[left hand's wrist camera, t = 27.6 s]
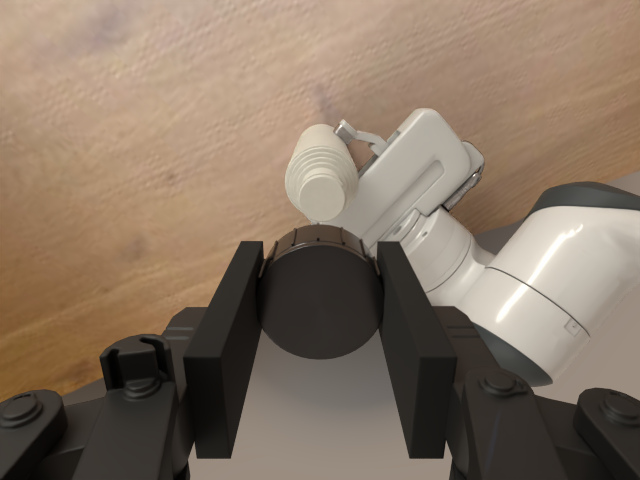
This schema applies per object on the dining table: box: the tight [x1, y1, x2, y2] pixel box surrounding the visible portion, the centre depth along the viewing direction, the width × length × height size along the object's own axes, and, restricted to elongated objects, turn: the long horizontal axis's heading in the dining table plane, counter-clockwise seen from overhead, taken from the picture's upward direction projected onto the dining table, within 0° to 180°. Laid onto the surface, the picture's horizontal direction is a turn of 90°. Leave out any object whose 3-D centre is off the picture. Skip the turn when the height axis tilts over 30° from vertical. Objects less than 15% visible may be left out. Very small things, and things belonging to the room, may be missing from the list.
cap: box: [256, 223, 385, 359], centre depth 14 cm, size 4×4×2 cm
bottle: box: [285, 124, 359, 222], centre depth 35 cm, size 5×5×22 cm
